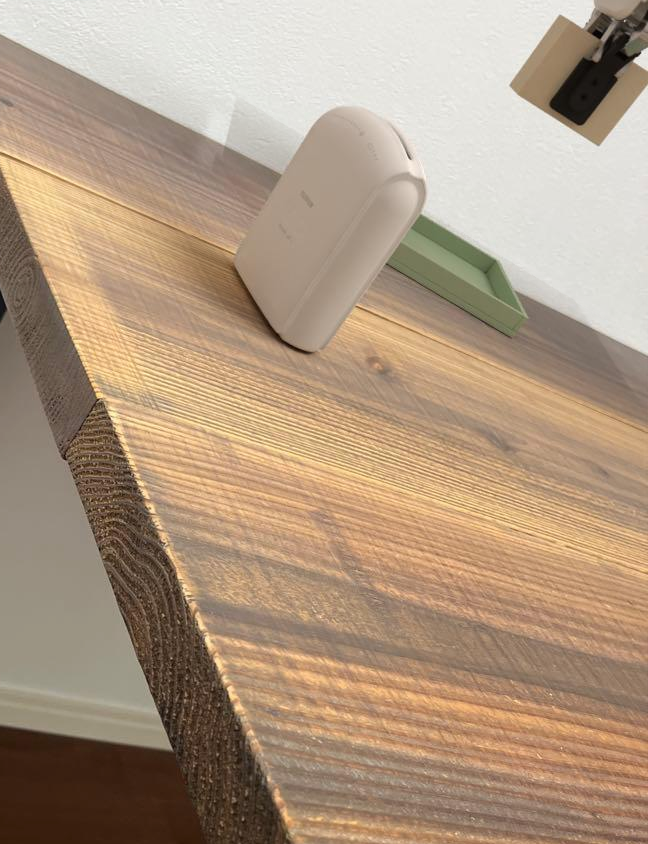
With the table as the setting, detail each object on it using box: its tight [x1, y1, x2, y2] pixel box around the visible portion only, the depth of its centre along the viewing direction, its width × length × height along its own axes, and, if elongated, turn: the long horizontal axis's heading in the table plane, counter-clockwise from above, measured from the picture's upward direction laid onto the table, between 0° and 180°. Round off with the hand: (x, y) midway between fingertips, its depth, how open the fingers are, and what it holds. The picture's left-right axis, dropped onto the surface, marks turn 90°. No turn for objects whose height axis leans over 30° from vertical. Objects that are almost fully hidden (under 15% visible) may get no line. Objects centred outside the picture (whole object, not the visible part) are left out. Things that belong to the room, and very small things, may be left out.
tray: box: [385, 212, 530, 339], centre depth 93 cm, size 14×15×2 cm
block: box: [509, 14, 648, 147], centre depth 82 cm, size 4×8×6 cm, turn 80°
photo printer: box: [233, 105, 428, 353], centre depth 61 cm, size 10×4×12 cm, turn 13°
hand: (559, 107), depth 84 cm, fingers closed on block, 4 cm apart
